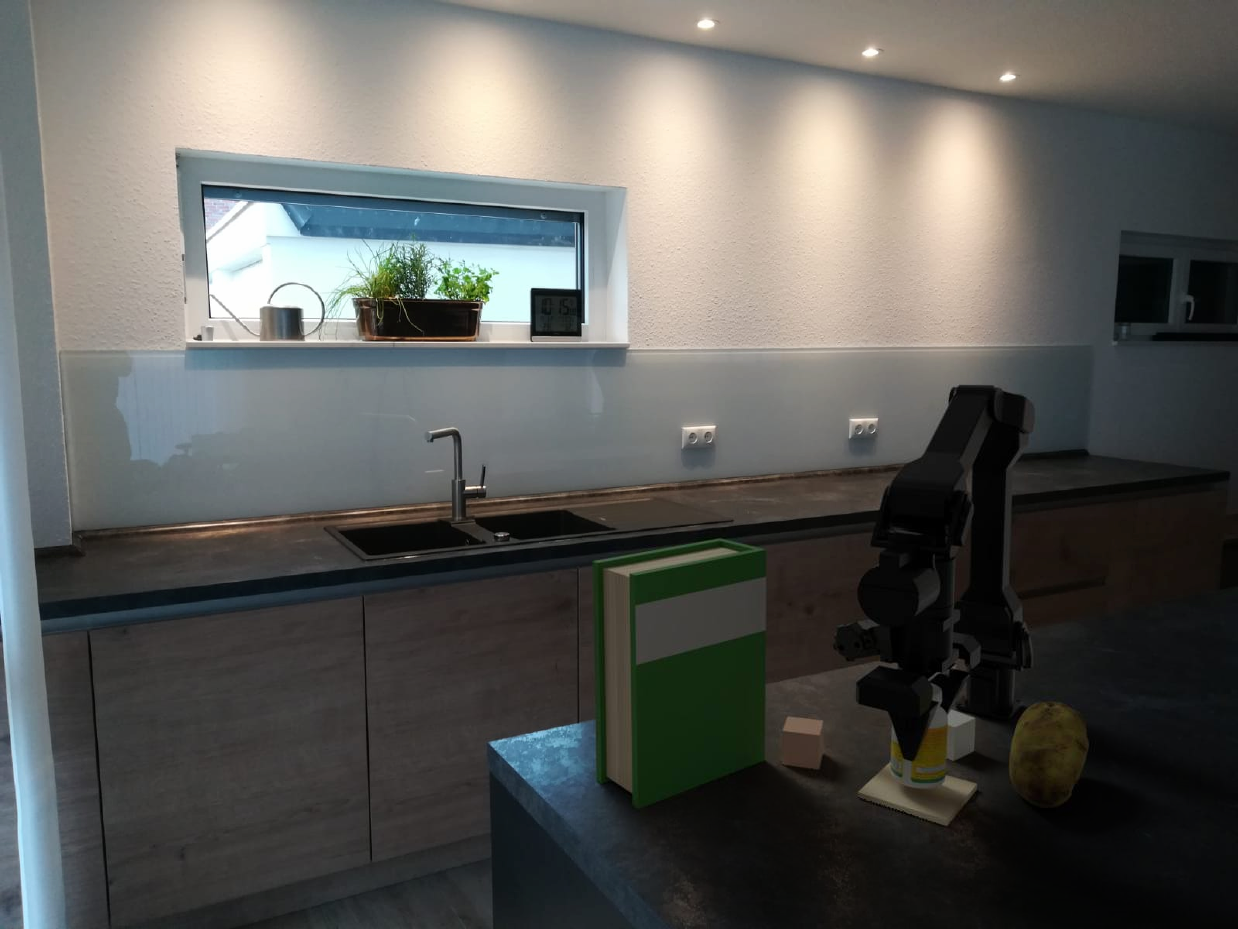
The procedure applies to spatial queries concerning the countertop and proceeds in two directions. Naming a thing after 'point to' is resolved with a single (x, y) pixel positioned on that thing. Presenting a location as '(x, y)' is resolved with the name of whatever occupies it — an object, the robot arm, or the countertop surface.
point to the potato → (1048, 753)
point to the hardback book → (679, 666)
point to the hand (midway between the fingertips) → (919, 749)
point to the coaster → (919, 796)
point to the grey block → (960, 735)
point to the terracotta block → (802, 742)
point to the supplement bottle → (924, 753)
